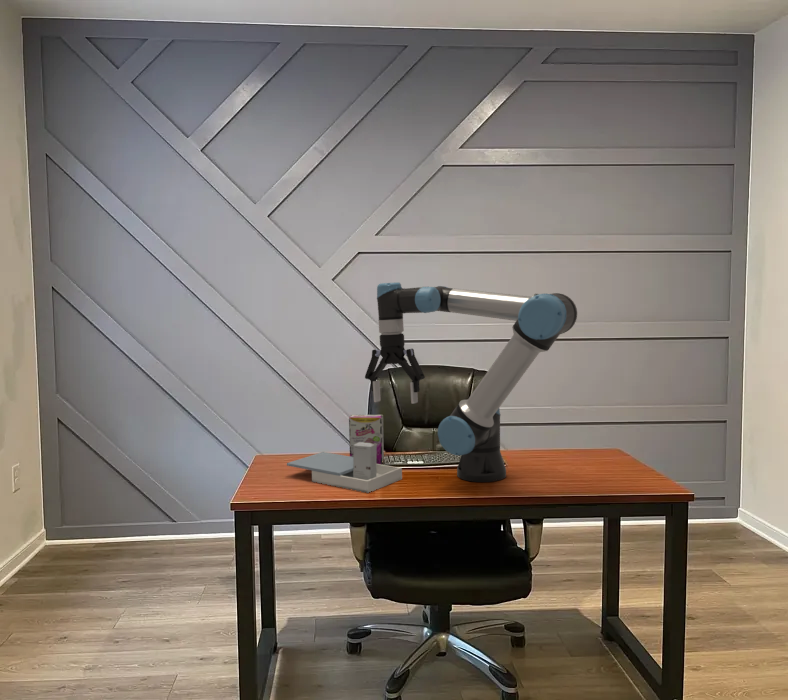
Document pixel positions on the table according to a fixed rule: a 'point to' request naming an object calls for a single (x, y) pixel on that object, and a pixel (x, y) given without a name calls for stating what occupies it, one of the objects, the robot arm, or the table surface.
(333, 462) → the lid
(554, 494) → the table surface
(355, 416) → the candy bar box
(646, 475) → the table surface
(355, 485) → the white shallow tray
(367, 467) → the skincare box
